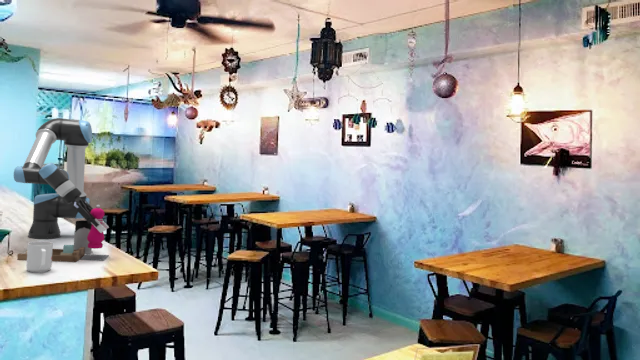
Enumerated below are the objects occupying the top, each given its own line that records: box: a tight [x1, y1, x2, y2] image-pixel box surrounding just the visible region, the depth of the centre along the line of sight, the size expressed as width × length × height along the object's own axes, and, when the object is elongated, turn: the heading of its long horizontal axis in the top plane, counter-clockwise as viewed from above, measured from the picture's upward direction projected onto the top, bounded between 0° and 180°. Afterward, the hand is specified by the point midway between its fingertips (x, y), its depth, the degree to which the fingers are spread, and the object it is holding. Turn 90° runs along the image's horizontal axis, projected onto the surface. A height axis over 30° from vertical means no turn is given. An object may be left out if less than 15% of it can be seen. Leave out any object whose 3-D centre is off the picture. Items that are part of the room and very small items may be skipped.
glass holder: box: [73, 219, 93, 255], centre depth 234 cm, size 9×14×15 cm, turn 27°
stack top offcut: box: [62, 244, 74, 253], centre depth 218 cm, size 4×4×3 cm
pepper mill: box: [87, 204, 106, 250], centre depth 222 cm, size 7×7×20 cm
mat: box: [79, 253, 110, 261], centre depth 223 cm, size 10×10×1 cm
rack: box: [16, 247, 86, 263], centre depth 217 cm, size 14×24×4 cm, turn 101°
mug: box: [25, 240, 54, 273], centre depth 194 cm, size 12×9×11 cm
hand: (104, 230), depth 223 cm, fingers closed on pepper mill, 5 cm apart
